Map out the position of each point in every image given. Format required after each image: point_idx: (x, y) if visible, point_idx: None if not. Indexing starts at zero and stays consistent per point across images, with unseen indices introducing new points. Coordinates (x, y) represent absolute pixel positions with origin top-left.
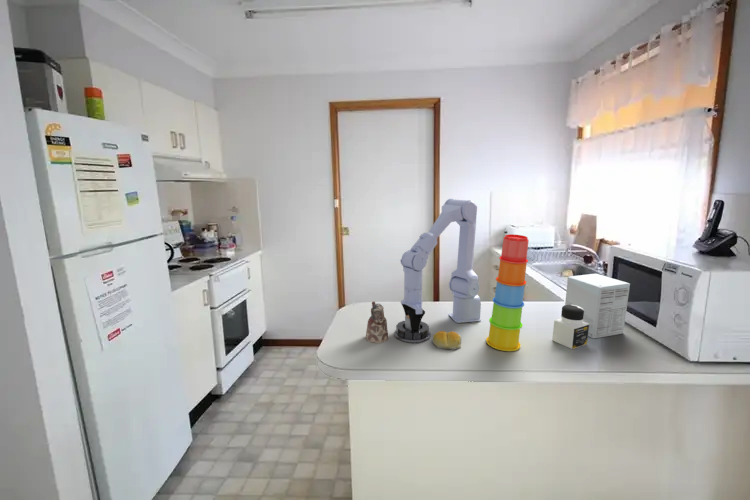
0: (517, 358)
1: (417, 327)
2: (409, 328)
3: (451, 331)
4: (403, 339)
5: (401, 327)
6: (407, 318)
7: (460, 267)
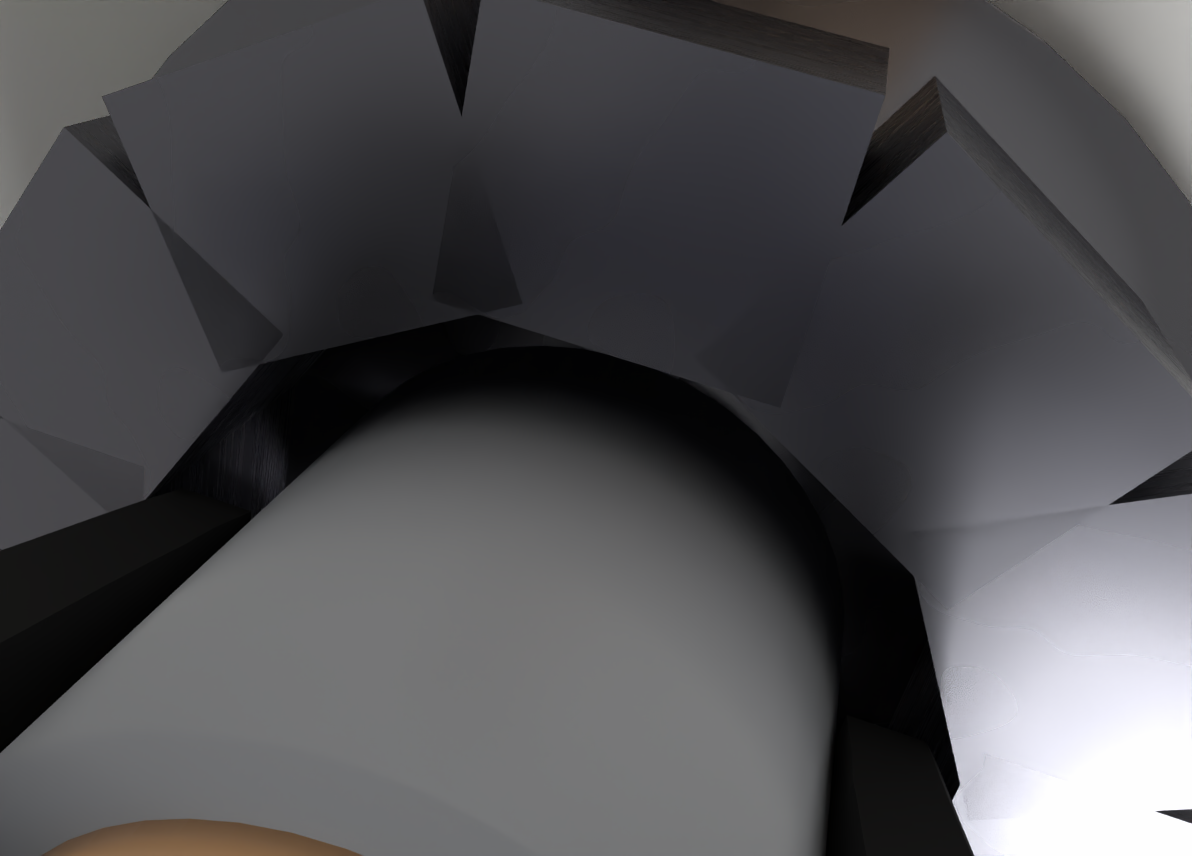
0: None
1: None
2: (293, 489)
3: None
4: (258, 29)
5: (589, 260)
6: (188, 789)
7: None
